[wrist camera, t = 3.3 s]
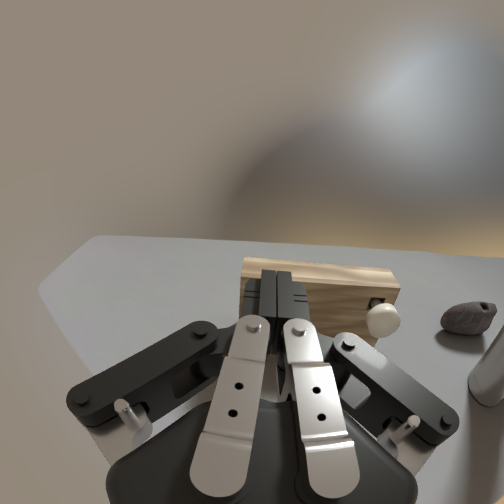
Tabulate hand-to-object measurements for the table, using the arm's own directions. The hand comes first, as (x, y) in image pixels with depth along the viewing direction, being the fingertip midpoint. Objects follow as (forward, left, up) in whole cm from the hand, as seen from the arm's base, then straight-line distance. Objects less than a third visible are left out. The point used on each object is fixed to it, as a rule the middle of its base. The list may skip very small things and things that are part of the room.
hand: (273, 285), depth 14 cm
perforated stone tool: (-42, -20, -23) cm, 52 cm away
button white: (-16, -15, -16) cm, 27 cm away
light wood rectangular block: (-8, -19, -23) cm, 31 cm away
